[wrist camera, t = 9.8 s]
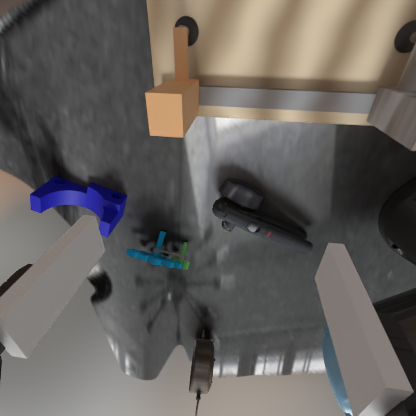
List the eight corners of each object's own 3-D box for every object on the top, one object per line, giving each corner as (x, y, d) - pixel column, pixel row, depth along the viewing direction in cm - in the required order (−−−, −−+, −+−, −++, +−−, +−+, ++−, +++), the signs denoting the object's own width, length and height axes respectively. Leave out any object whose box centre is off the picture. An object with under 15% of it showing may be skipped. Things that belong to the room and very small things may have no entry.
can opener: (206, 202, 40) (200, 223, 35) (229, 169, 36) (227, 188, 31) (291, 250, 43) (296, 275, 39) (321, 226, 39) (331, 250, 35)
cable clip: (127, 195, 41) (111, 216, 36) (123, 215, 43) (107, 237, 38) (56, 168, 39) (29, 186, 34) (55, 189, 42) (31, 209, 37)
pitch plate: (442, -9, 23) (582, -43, 13) (385, 123, 30) (451, 162, 20) (150, -11, 25) (93, -41, 16) (160, 111, 32) (125, 140, 23)
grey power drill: (198, 324, 60) (185, 405, 47) (219, 329, 60) (212, 410, 47) (193, 346, 67) (181, 422, 53) (213, 349, 66) (205, 427, 53)
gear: (126, 254, 46) (122, 260, 37) (136, 224, 47) (135, 222, 38) (181, 268, 49) (191, 277, 39) (189, 239, 50) (201, 241, 40)
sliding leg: (200, 26, 25) (178, 19, 17) (199, 111, 29) (183, 137, 21) (171, 25, 25) (136, 19, 17) (175, 109, 30) (150, 135, 22)
